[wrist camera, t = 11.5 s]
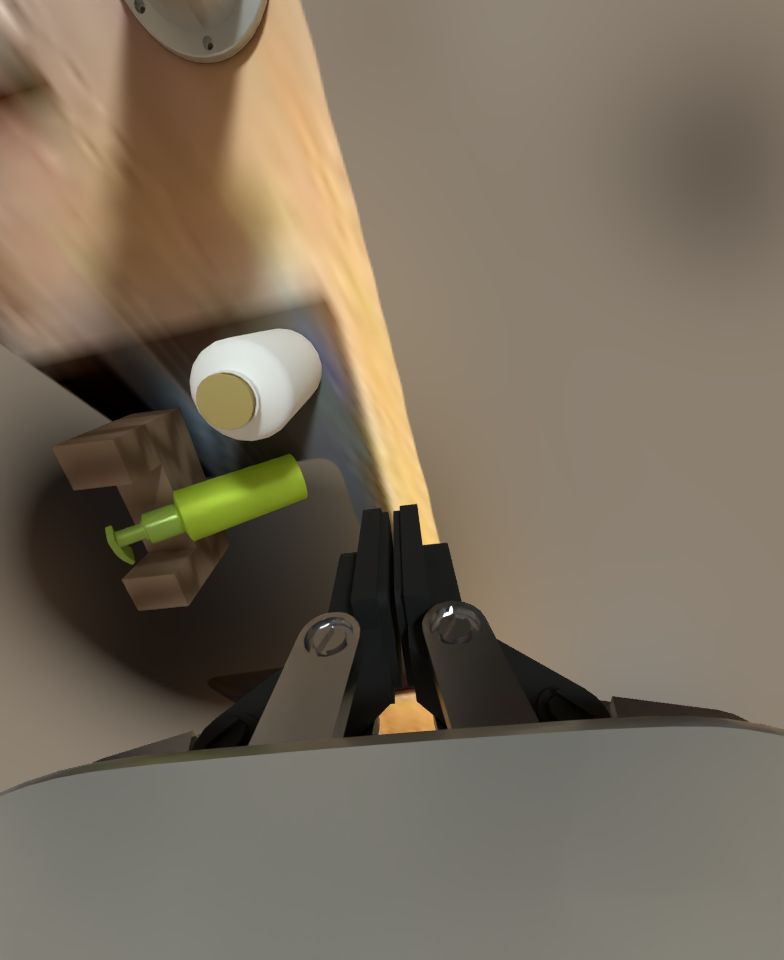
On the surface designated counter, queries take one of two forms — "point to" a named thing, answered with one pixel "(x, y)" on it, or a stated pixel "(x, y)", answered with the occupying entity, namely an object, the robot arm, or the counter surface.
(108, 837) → the robot arm
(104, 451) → the bottle rest
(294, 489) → the soap dispenser
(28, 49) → the counter surface
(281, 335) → the potion bottle
